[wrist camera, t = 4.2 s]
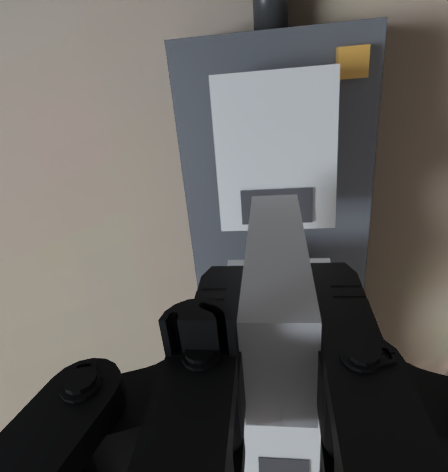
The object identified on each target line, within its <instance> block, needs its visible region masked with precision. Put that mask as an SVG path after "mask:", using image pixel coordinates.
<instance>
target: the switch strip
mask: <svg viewBox="0 0 448 472" xmlns="http://www.w3.org/2000/svg"><path fill="white" fill-rule="evenodd" d="M253 12H254V31H247V32H238V33H228V34H218V35H209V36H199V37H190V38H180V39H170V40H165V48H166V55H167V63H168V70H169V78H170V85H171V92H172V100H173V107H174V115H175V122H176V130H177V137H178V145H179V152H180V159H181V167H182V174H183V182H184V189H185V197H186V204H187V212H188V219H189V226H190V234H191V241H192V249H193V256H194V264H195V271H196V279H197V286H198V285H199V282H200V279H201V276H202V275H203V274H204V273H205V272H206V271H207V270H208V269H209V268H210V267H211V266H227V263H228V260H244V258H245V249H246V241H247V233H248V231H221V220H220V208H219V196H218V184H217V172H216V160H215V148H214V135H213V123H212V111H211V99H210V87H209V75H217V74H228V73H239V72H251V71H262V70H273V69H284V68H296V67H307V66H318V65H329V64H340V88H339V121H338V154H337V188H336V221H335V228H316V229H304V232H305V237H306V243H307V248H308V253H309V258H330V262H331V263H337V262H345V263H346V264H347V265H349V266H350V267H351V268H352V269H353V270H355V271H356V272H357V274H358V276H359V279H360V281H361V284H362V288H363V289H364V285H365V273H366V261H367V250H368V238H369V226H370V215H371V203H372V192H373V180H374V168H375V157H376V145H377V133H378V122H379V110H380V98H381V87H382V75H383V63H384V52H385V40H386V29H387V17H382V18H372V19H363V20H353V21H344V22H334V23H324V24H315V25H305V26H295V27H288V0H253Z"/></svg>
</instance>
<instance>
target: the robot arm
mask: <svg viewBox="0 0 448 472" xmlns="http://www.w3.org/2000/svg"><path fill="white" fill-rule="evenodd" d="M158 321H159V326H160V331H161V336H162V341H163V346H164V351H165V359H164V360H163V361H161V362H159V363H157V364H155V365H152V366H149V367H146V368H142V369H138V370H134V371H130V372H126V373H122V374H121V372H120V370H119V369H118V367H117V366H116V364H115V363H113V362H111V361H109V360H107V359H102V358H91V359H86V360H82V361H78V362H76V363H74V364H72V365H70V366H68V367H66V368H64V369H63V370H62V371H60V372H59V373H58V374H57V375H55V376H54V377H53V378H52V379H51V380H50V381H49V382H48V383H47V384H46V385H45V386H44V387H43V388H42V389H41V390H40V391H39V393H38V394H37V395H36V396H35V397H34V398H33V399H32V400H31V401H30V402H29V403H28V404H27V405H26V406H25V407H24V408H23V409H22V410H21V411H20V412H19V413H18V414H17V415H16V417H15V418H14V419H13V420H12V421H11V422H10V423H9V424H8V425H7V426H6V427H5V428H4V429H3V430H2V431H1V432H0V472H244V469H245V441H244V426H245V423H246V425H251V426H276V427H301V428H318V419H319V426H320V434H321V445H320V470H319V472H448V376H445V375H441V374H437V373H433V372H429V371H426V370H423V369H420V368H417V367H415V366H413V365H411V364H409V363H407V362H405V361H404V359H403V357H402V356H401V355H400V353H399V352H398V350H397V349H396V348H395V347H393V346H392V345H391V344H389V343H388V342H386V341H385V340H383V337H382V335H381V332H380V330H379V327H378V324H377V322H376V319H375V317H374V314H373V312H372V309H371V307H370V304H369V302H368V299H367V298H366V294H365V291H364V289H363V288H362V284H361V281H360V279H359V276H358V274H357V272H356V271H355V270H353V269H352V268H351V267H350V266H349V265H347V264H346V263H345V262H337V263H310V258H309V253H308V248H307V243H306V237H305V232H304V227H303V222H302V216H301V211H300V206H299V201H298V195H297V194H293V195H270V196H252V200H251V209H250V217H249V225H248V233H247V241H246V249H245V258H244V266H211V267H210V268H209V269H208V270H207V271H206V272H205V273H204V274H203V275H202V276H201V279H200V282H199V285H198V291H197V292H196V295H195V298H194V299H189V300H186V301H183V302H180V303H177V304H175V305H173V306H172V307H171V308H169V309H168V310H166V311H165V312H164V313H163V315H162V316H161V317H160V319H159V320H158Z"/></svg>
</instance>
